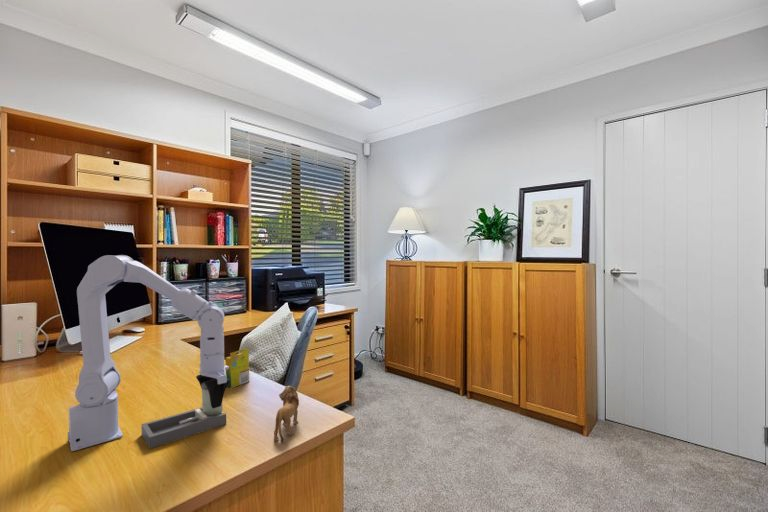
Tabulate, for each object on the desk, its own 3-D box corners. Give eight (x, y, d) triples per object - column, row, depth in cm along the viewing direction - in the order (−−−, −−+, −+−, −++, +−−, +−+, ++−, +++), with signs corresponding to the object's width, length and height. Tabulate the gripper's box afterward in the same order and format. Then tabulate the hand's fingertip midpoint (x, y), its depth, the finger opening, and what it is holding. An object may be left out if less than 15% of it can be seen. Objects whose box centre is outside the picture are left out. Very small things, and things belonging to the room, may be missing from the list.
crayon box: (244, 380, 127) (243, 346, 127) (249, 381, 125) (249, 347, 125) (225, 387, 121) (224, 351, 120) (231, 388, 119) (230, 353, 119)
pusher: (183, 431, 89) (182, 423, 89) (176, 423, 93) (175, 415, 93) (207, 424, 92) (206, 416, 92) (199, 416, 97) (199, 408, 97)
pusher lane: (149, 448, 83) (149, 437, 83) (141, 434, 89) (141, 424, 89) (226, 424, 95) (226, 414, 94) (214, 413, 101) (214, 403, 101)
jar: (206, 418, 93) (206, 387, 93) (198, 412, 96) (198, 382, 96) (226, 412, 97) (225, 381, 96) (217, 406, 100) (217, 377, 100)
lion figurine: (279, 417, 98) (279, 384, 98) (300, 415, 99) (299, 382, 99) (271, 446, 84) (271, 407, 84) (295, 444, 85) (295, 405, 84)
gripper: (238, 355, 94) (239, 407, 94) (218, 344, 104) (218, 392, 104) (209, 360, 89) (210, 416, 89) (191, 349, 99) (191, 399, 100)
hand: (212, 403), depth 96 cm, fingers closed on jar, 5 cm apart
